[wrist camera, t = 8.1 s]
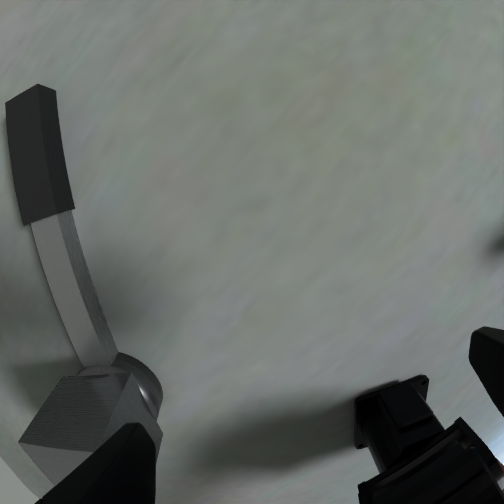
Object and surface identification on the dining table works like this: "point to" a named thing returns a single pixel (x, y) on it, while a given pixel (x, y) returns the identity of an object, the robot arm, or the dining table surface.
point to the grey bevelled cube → (84, 421)
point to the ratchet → (63, 237)
